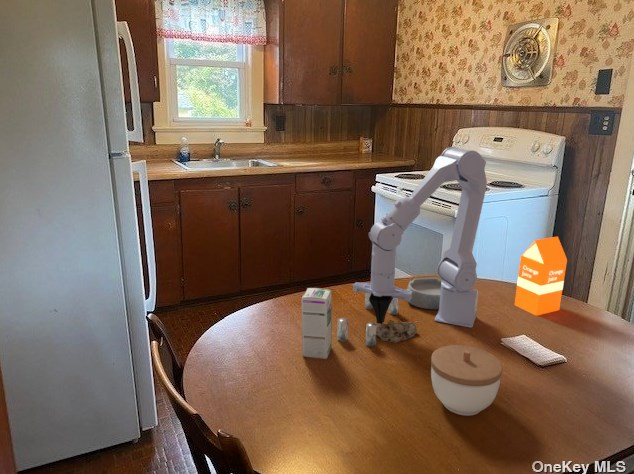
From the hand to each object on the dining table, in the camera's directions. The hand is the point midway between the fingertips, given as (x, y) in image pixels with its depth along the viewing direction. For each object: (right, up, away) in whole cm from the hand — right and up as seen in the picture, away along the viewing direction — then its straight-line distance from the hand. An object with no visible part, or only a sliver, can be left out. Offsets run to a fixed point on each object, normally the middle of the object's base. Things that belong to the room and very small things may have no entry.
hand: (380, 322), depth 122 cm
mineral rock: (+3, -3, -3) cm, 6 cm away
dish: (+16, +3, +17) cm, 23 cm away
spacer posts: (-3, -1, +2) cm, 3 cm away
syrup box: (-16, -5, -12) cm, 20 cm away
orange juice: (+45, +2, +12) cm, 47 cm away
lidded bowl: (+11, -10, -30) cm, 34 cm away
